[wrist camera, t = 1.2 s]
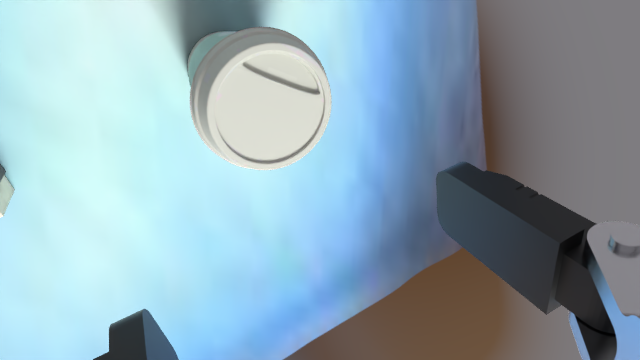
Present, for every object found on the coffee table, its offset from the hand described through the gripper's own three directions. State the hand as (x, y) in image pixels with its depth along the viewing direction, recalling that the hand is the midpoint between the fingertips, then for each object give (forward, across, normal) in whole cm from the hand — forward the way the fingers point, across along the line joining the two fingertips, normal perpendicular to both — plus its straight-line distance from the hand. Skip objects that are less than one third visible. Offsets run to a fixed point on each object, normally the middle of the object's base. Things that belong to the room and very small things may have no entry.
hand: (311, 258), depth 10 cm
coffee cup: (+26, -3, +2) cm, 26 cm away
